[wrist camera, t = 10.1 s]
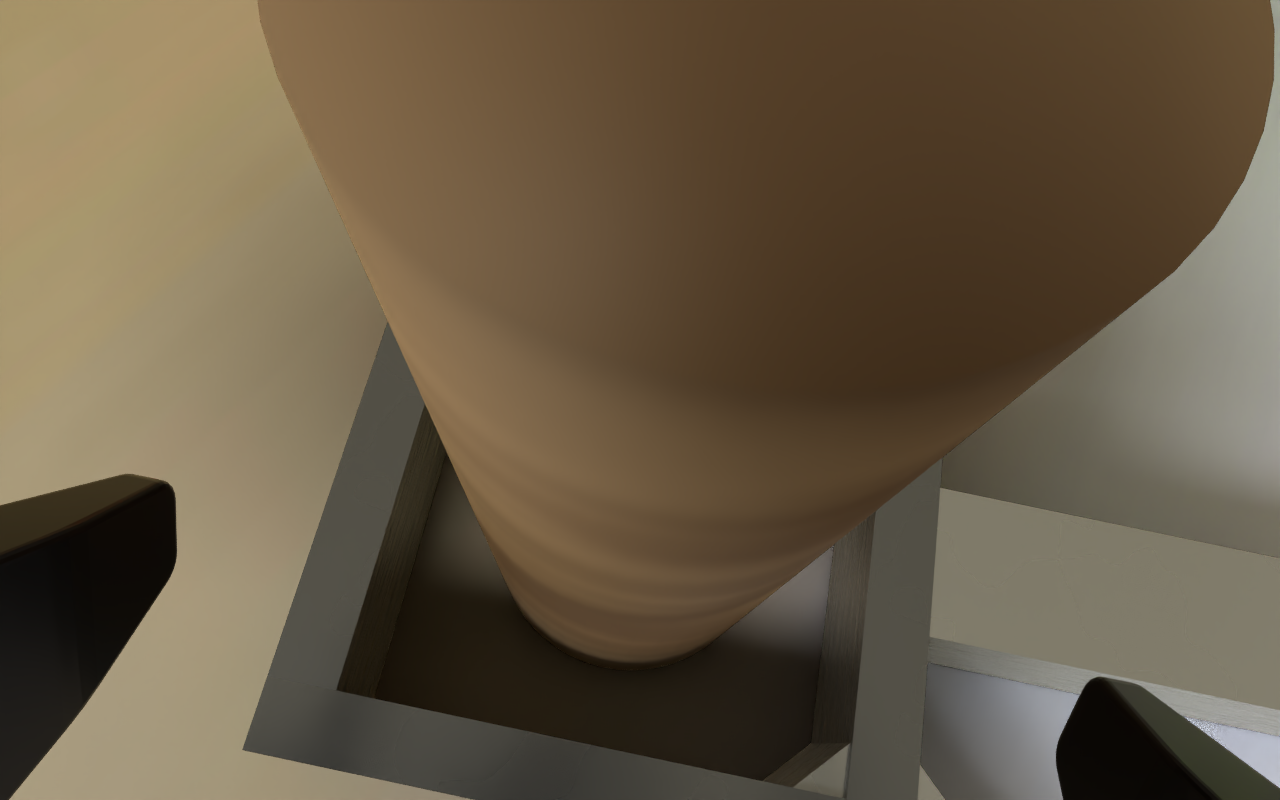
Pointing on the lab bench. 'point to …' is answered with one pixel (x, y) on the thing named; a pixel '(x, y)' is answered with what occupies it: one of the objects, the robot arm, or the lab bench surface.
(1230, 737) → the lab bench surface
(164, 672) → the lab bench surface
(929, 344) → the walnut sleeve
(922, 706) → the square collar with arms
